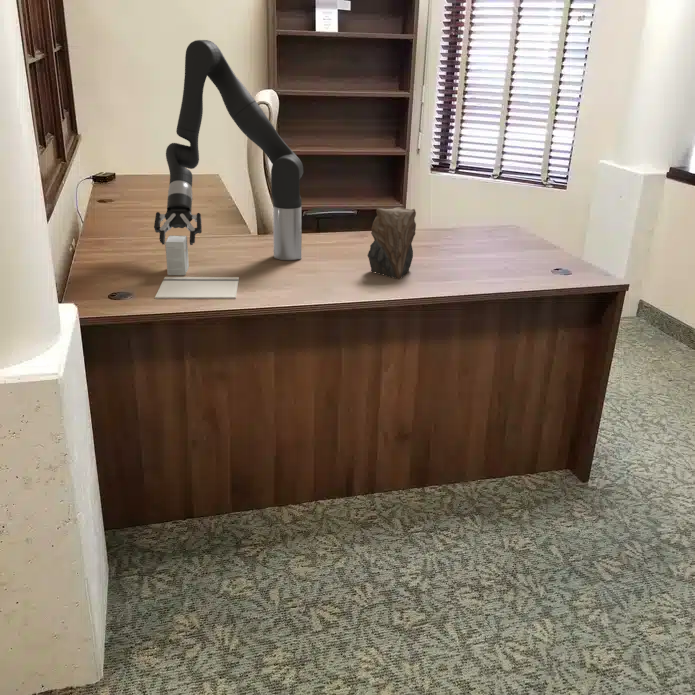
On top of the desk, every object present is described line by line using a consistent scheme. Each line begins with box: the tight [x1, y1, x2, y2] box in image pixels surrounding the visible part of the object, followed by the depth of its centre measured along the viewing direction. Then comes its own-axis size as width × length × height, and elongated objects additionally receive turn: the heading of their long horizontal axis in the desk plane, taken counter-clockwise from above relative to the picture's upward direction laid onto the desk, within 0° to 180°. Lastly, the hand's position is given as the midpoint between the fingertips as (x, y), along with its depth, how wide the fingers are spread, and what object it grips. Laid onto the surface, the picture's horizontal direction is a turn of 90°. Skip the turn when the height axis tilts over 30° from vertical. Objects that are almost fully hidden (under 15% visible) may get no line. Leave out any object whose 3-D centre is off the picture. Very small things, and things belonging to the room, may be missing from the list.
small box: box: [165, 234, 190, 276], centre depth 210 cm, size 8×6×10 cm
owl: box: [367, 206, 417, 280], centre depth 217 cm, size 13×13×20 cm
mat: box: [154, 276, 240, 300], centre depth 198 cm, size 22×18×1 cm
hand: (177, 243), depth 211 cm, fingers open, 8 cm apart
